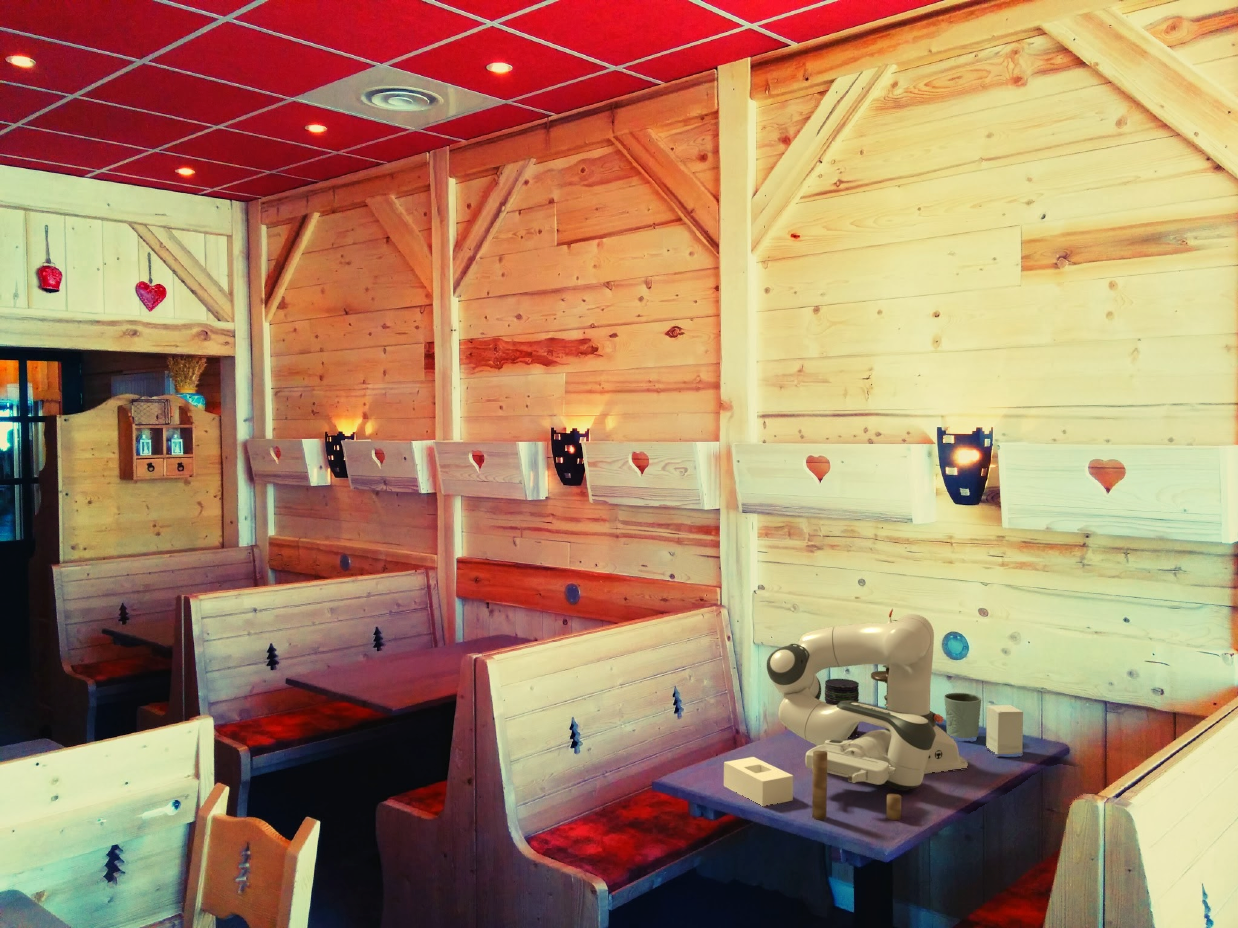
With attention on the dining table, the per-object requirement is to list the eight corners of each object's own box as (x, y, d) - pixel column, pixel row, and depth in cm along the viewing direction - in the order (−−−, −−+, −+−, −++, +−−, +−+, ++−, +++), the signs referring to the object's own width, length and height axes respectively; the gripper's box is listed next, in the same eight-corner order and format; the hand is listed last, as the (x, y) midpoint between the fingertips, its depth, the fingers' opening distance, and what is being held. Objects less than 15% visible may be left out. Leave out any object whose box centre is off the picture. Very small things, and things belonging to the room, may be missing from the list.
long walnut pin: (823, 814, 240) (824, 750, 239) (828, 819, 237) (829, 754, 236) (810, 814, 239) (811, 750, 239) (814, 819, 236) (815, 754, 236)
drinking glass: (984, 736, 302) (985, 695, 301) (975, 745, 293) (975, 703, 293) (949, 730, 307) (950, 690, 307) (939, 739, 299) (939, 697, 299)
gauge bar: (753, 780, 263) (753, 756, 263) (792, 800, 249) (793, 775, 249) (723, 785, 258) (723, 761, 258) (762, 806, 244) (762, 781, 244)
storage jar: (821, 727, 309) (821, 678, 309) (854, 728, 309) (854, 678, 309) (827, 737, 299) (828, 686, 299) (861, 738, 299) (862, 686, 299)
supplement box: (1023, 757, 283) (1024, 711, 282) (996, 757, 282) (997, 711, 282) (1010, 749, 290) (1011, 704, 290) (985, 749, 290) (986, 704, 289)
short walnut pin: (897, 814, 240) (897, 793, 240) (903, 819, 237) (903, 798, 237) (884, 815, 240) (884, 793, 239) (889, 820, 236) (890, 798, 236)
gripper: (898, 781, 248) (873, 797, 238) (821, 762, 261) (794, 777, 250) (898, 755, 248) (874, 770, 237) (821, 738, 261) (794, 752, 250)
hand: (832, 774), depth 244 cm, fingers open, 8 cm apart
